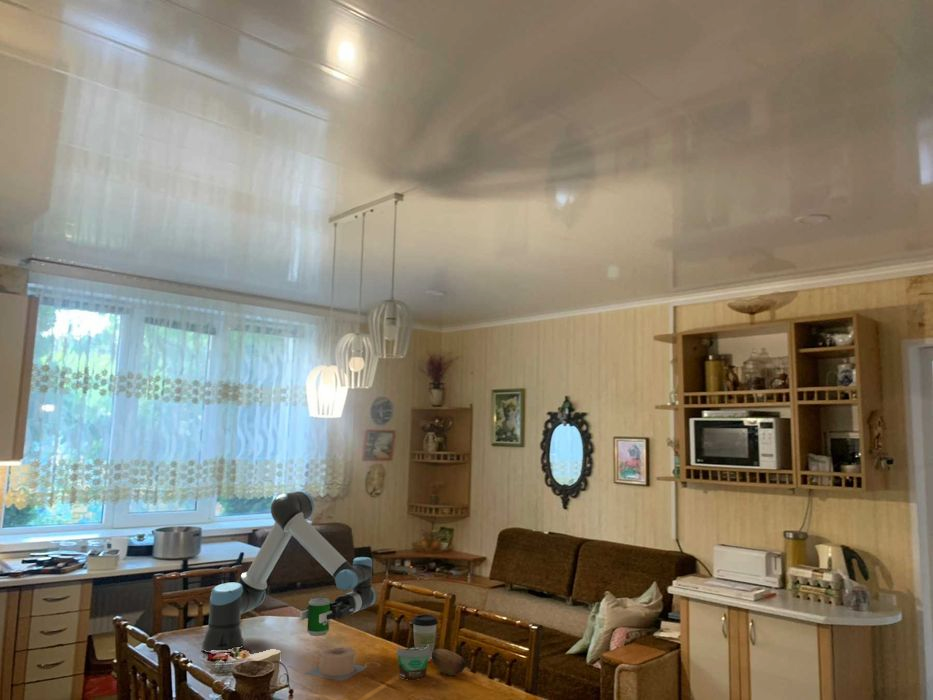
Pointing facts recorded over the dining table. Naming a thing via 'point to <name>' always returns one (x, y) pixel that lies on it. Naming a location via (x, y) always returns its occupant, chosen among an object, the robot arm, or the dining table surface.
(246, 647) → the dining table surface
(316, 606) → the soda can
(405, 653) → the food container
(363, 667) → the rubber mat
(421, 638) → the coffee cup
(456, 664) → the potato
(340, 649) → the beige hollow cylinder
